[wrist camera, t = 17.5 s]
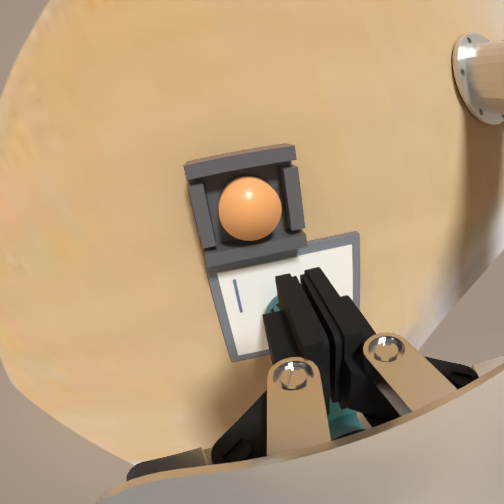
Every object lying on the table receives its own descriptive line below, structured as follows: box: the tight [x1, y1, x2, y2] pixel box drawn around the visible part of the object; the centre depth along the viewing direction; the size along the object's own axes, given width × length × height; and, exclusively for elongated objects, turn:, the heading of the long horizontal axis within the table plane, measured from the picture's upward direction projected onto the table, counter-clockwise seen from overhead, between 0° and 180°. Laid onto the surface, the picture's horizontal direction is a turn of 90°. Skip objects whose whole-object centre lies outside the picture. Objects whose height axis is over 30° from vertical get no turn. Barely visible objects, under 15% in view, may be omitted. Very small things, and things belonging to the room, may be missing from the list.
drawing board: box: [205, 231, 360, 362], centre depth 33 cm, size 16×13×1 cm
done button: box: [218, 175, 282, 241], centre depth 25 cm, size 5×5×2 cm
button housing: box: [184, 144, 307, 267], centre depth 27 cm, size 9×9×4 cm
